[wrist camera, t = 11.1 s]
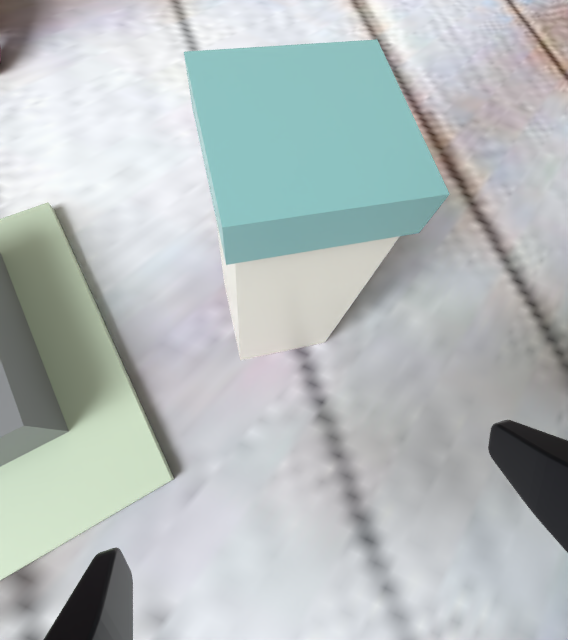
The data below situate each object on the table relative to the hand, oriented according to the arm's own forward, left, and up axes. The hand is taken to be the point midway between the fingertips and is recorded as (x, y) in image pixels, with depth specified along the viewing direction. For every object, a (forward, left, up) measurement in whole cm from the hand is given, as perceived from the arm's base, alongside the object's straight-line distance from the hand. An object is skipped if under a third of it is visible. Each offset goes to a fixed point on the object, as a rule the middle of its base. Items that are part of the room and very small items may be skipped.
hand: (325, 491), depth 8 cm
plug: (+7, -3, -9) cm, 12 cm away
